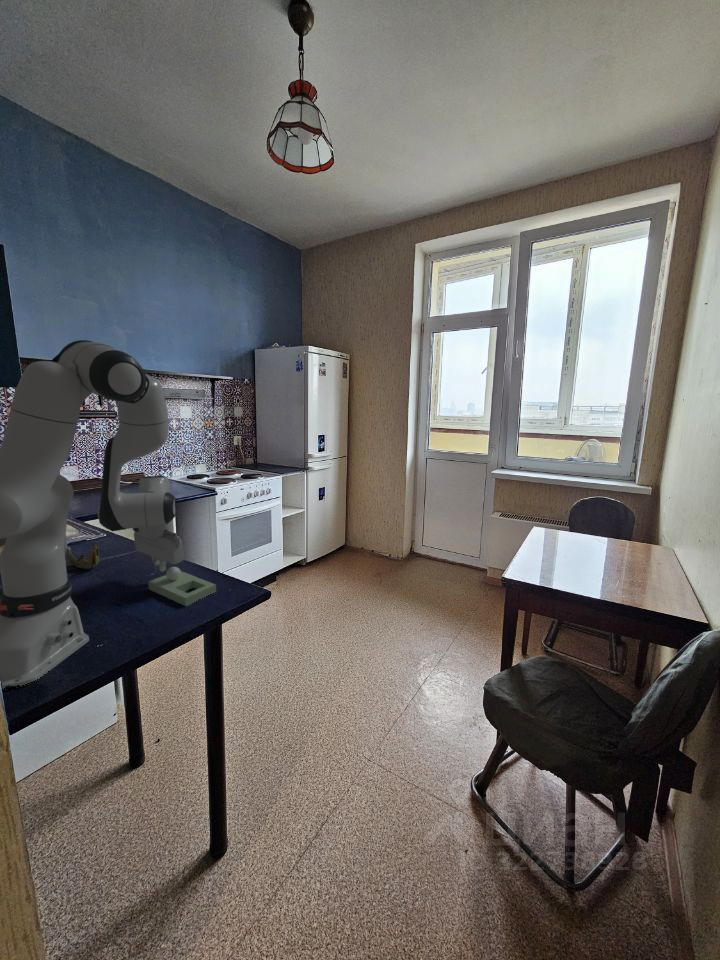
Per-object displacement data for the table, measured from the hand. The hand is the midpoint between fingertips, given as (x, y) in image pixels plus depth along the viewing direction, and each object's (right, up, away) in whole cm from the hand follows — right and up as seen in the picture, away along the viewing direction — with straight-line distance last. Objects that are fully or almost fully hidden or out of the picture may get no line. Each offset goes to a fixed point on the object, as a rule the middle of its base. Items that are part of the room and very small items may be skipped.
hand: (160, 570), depth 120 cm
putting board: (+9, -5, -5) cm, 11 cm away
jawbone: (-29, -2, +10) cm, 31 cm away
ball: (+6, 0, -3) cm, 7 cm away
